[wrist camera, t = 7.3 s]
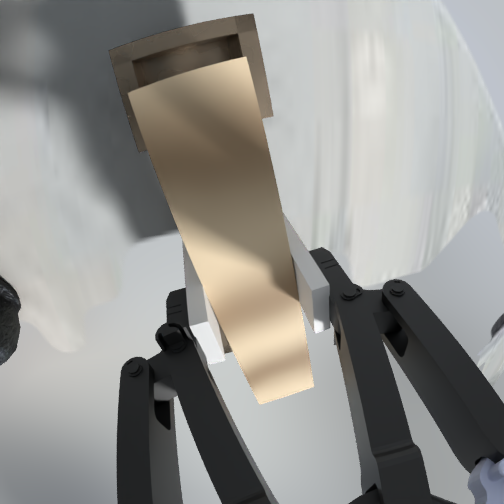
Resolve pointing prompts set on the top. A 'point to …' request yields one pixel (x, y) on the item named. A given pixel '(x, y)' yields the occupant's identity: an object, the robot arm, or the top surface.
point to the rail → (230, 216)
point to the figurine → (8, 321)
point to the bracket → (190, 64)
